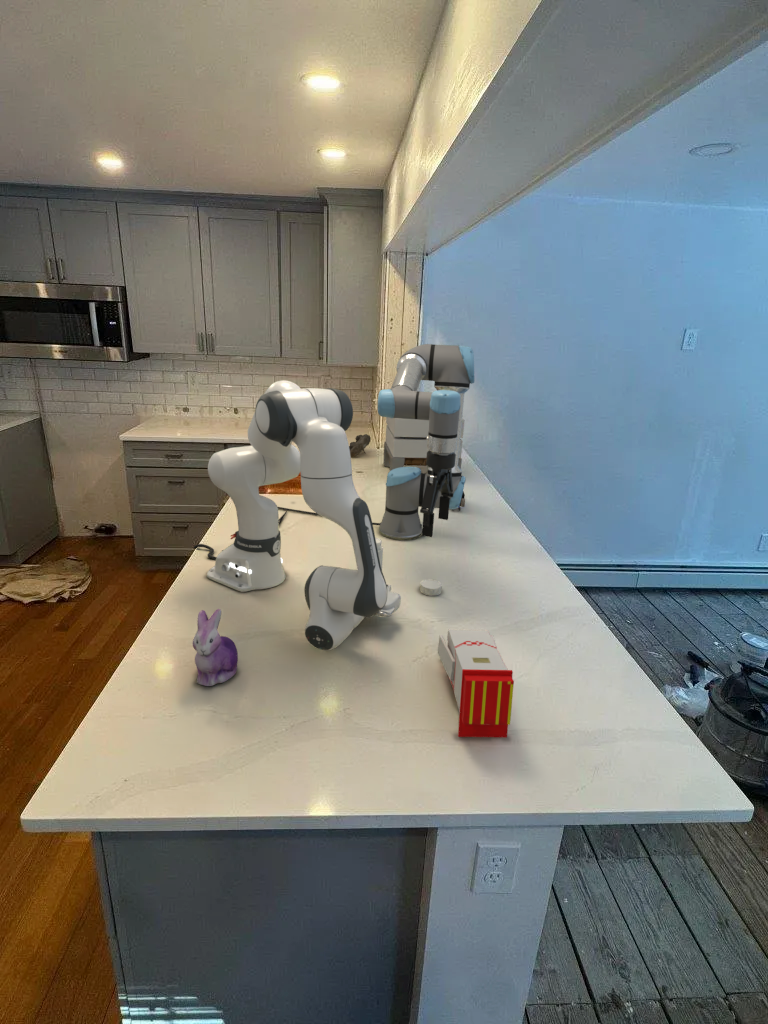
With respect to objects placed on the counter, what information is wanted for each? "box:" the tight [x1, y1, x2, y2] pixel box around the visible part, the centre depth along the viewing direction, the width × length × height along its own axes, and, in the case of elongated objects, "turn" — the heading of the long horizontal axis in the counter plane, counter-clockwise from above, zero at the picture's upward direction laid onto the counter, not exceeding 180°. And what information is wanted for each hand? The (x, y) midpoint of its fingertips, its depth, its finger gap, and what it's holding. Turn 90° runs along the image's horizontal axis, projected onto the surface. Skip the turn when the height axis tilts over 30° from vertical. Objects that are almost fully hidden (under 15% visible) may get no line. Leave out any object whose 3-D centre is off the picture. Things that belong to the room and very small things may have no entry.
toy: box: [437, 628, 515, 738], centre depth 117 cm, size 12×13×30 cm
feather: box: [279, 510, 288, 526], centre depth 213 cm, size 2×28×2 cm
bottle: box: [375, 537, 384, 570], centre depth 148 cm, size 5×5×19 cm
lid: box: [419, 578, 443, 597], centre depth 160 cm, size 6×6×2 cm
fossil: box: [349, 433, 372, 458], centre depth 305 cm, size 22×10×15 cm
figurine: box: [192, 608, 239, 687], centre depth 118 cm, size 9×10×15 cm
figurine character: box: [451, 490, 466, 511], centre depth 229 cm, size 7×8×15 cm
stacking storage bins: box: [383, 417, 465, 472], centre depth 268 cm, size 34×33×41 cm
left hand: (372, 583), depth 150 cm, fingers open, 8 cm apart
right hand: (435, 527), depth 155 cm, fingers open, 13 cm apart
